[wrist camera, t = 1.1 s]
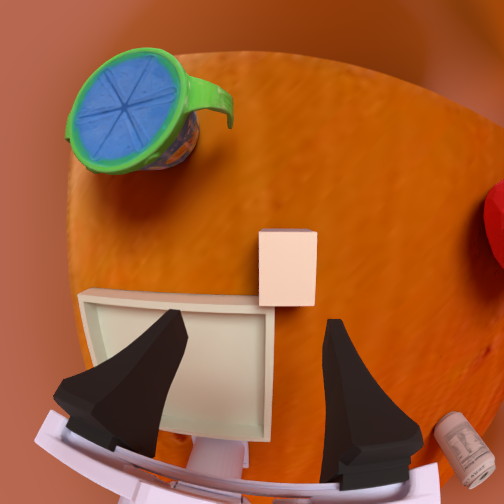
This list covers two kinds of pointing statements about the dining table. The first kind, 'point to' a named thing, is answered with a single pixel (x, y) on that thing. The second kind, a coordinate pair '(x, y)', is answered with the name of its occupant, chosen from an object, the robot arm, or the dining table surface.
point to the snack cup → (140, 113)
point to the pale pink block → (287, 267)
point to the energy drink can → (464, 449)
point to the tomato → (495, 220)
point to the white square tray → (197, 356)
